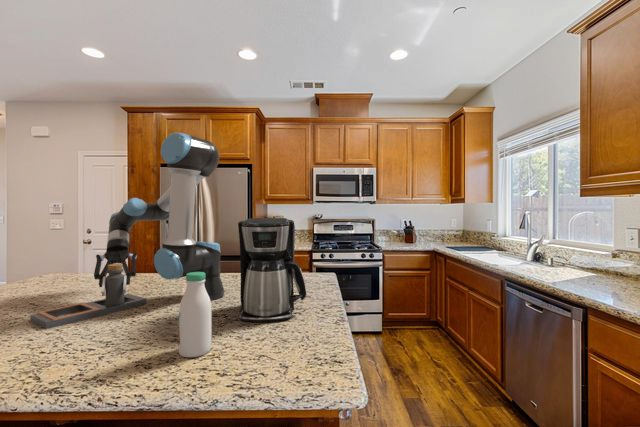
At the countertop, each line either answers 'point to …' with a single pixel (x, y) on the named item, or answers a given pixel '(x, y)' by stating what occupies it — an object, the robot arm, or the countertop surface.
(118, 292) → the bottle
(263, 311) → the coffee maker
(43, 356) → the countertop surface
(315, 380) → the countertop surface
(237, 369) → the countertop surface
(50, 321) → the rail
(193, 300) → the milk bottle
